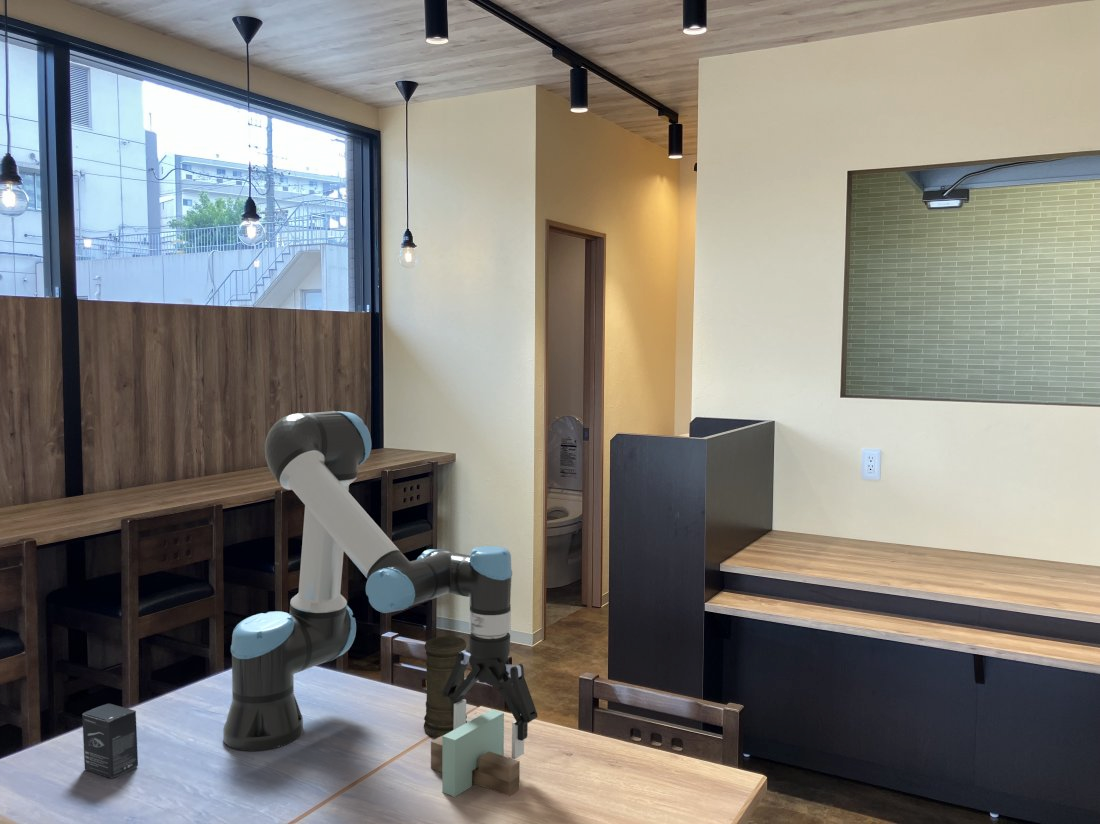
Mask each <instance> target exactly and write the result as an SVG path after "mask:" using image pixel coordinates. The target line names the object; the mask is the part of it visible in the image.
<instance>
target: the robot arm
mask: <svg viewBox="0 0 1100 824" xmlns="http://www.w3.org/2000/svg"><path fill="white" fill-rule="evenodd" d="M371 451H372V438H371V434H370V431H369V429H368V426H367V425H366V424H365V423H364V421H363V419H362V418H361V417H359V416H358V415H357V414H355V413H353V412H348V411H336V410H332V411H331V410H330V411H318V412H307V413H301V412H299V413H291V414H289V415H286V416H284V417H282V418H279V420H278V421H276V422H275V423H274V424H273V425H272V426H271V428H270V430H268V433H267V436H266V438H265V441H264V457H265V462H266V464H267V467H268V469H269V471H270V473H271V474H272V476H273V477H274V479H275V480H276V481H277V482H278V483H279V485H280V486H281V487H282V488H283V489H285V490H288V491H290V490H292V491H293V492H294V494H295V495H296V496H297V498H298V499H299V500H300V501H301V502H302V503H303V505H304V513H303V514H304V516H303V528H302V530H303V531H302V545H301V555H300V556H301V557H300V568H299V569H300V570H299V582H298V593H297V594H295V595H294V596H292V598H291V599H290V601H289V602H290V603H289V604H290V605H289V613H288V612H286V611H285V612H284V611H276V610H275V611H267V612H265V613H263V612H261V613H256V614H254V615H251V616H248V617H246V618H245V619H243V620H241V621H240V622H239V623H237V624H236V626H235V627H234V628H233V631H232V635H231V637H232V638H231V645H230V653H231V683H232V684H231V685H232V687H231V689H232V695H231V696H232V697H231V698H232V699H231V704H230V707H229V711H228V714H227V717H226V720H225V721H226V722H225V724H223V725H224V726H223V733H222V735H223V736H222V737H223V739H224V740H223V743H224V742H225V743H226V744H227V745H228V746H227V745H226V744H225V743H224V744H225V745H226V746H227V747H229V748H231V749H234V748H235V749H234V750H238V751H247V752H248V751H250V752H251V751H256V752H257V751H265V750H271V749H275V748H279V747H282V746H285V745H288V744H290V743H292V742H293V741H296V740H297V739H298V738H300V736H301V735H302V734H303V731H304V720H303V715H302V713H301V709H300V707H299V704H298V701H297V699H296V696H295V693H294V692H295V691H294V681H295V680H294V679H295V677H294V675H295V674H297V673H300V672H302V671H305V670H308V669H311V668H313V667H315V666H319V665H321V664H324V663H328V662H331V661H333V660H335V659H337V658H338V657H341V656H342V655H344V654H346V653H347V652H348V651H349V650H350V648H351V647H352V645H353V643H354V641H355V638H356V633H357V623H356V622H357V621H356V618H355V617H353V615H354V613H353V610H352V609H351V608H350V607H349V605H348V604H347V603H348V601H347V598H345V596H343V595H342V593H341V589H342V575H343V563H344V553H345V555H347V557H349V559H350V560H351V561H352V563H353V564H354V565H355V566H356V567H357V568H358V570H359V571H360V572H361V573H362V574H363V575H364V577H365V578H366V579H367V581H366V583H365V594H366V596H367V597H368V598H367V599H368V602H369V604H370V606H371V607H372V608H373V609H374V610H375V611H378V613H379V612H380V613H382V614H388V613H394V612H397V611H403V610H406V609H408V608H409V607H412V606H414V605H417V604H420V603H423V602H426V601H429V600H433V599H436V598H438V597H441V596H444V595H447V594H448V595H449V594H450V595H451V594H452V595H456V596H462V597H466V598H467V597H469V631H470V634H469V635H468V636H469V637H468V639H469V641H468V649H466V648H465V650H464V651H461V652H459V653H457V655H456V664H455V666H454V668H453V670H452V673H451V675H450V677H449V679H448V681H447V684H446V686H445V688H444V690H443V696H444V697H448V698H449V699H450V701H451V716H452V718H454V730H455V729H456V728H458V727H460V726H462V725H464V724H466V721H467V719H466V715H467V699H465V695H466V694H467V693H468V692H469V691H470V689H472V687H473V686H474V685H475V684H476V683H477V681H478V682H479V683H483V684H487V685H488V686H491V687H492V686H494V688H495V690H496V691H498V692H499V693H500V695H501V696H502V699H503V700H504V702H505V704H506V706H507V707H508V709H509V711H510V712H511V714H512V716H513V718H514V721H512V724H511V725H512V727H511V759H514V760H517V759H518V758H520V757H521V756H523V755H524V754H525V740H526V739H527V737H528V733H529V732H528V728H529V727H528V724H529V723H531V722H532V721H535V720H536V719H537V718H538V713H537V708H536V706H535V704H534V700H533V698H532V695H531V692H530V689H529V686H528V684H527V681H526V679H525V671H524V668H525V667H524V665H523V664H522V663H518V664H516V665H515V664H511V663H510V662H509V655H510V653H511V652H510V651H511V634H510V631H511V630H512V628H511V627H512V626H511V625H512V624H511V623H512V622H511V620H512V619H511V618H512V617H511V616H512V615H511V614H512V612H511V611H512V610H511V598H512V597H511V595H512V594H511V593H512V592H511V591H512V578H513V577H512V576H513V569H512V555H511V552H510V551H509V549H507V548H505V547H502V546H496V545H495V546H492V545H484V546H477V547H474V548H473V549H472V550H471V552H470V555H469V554H463V553H459V552H453V551H449V550H445V549H433V548H431V549H430V548H429V549H426V550H424V551H423V552H422V553H421V554H420V555H419V556H418V557H417V558H416V559H414V560H411V561H410V560H409V559H408V558H407V557H406V555H404V554H403V553H402V551H401V550H400V549H399V548H398V547H397V546H396V545H395V544H394V542H393V541H392V540H391V538H390V537H388V536H387V534H386V533H385V532H384V531H383V530H382V529H381V527H380V526H379V525H378V524H377V523H376V522H375V520H374V519H373V518H372V517H371V516H370V515H369V513H367V511H366V510H365V509H364V508H363V507H362V506H361V505H360V503H359V502H358V501H357V500H356V499H355V498H354V496H352V494H351V493H350V492H349V491H350V488H349V487H350V484H352V483H353V482H355V481H356V480H357V478H358V471H359V470H358V469H359V466H361V465H362V464H363V463H365V462H366V460H367V459H368V458H369V457H370V454H371ZM468 665H470V668H471V671H470V672H469V673H468V674H467V676H466V678H464V681H463V683H462V684H461V685H460V686H459V687H458V685H459V683H460V681H461V679H462V676H463V674H464V675H465V671H466V669H467V667H468ZM457 687H458V688H457ZM456 689H457V690H456ZM463 696H464V699H463V700H461V698H463Z"/></svg>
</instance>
